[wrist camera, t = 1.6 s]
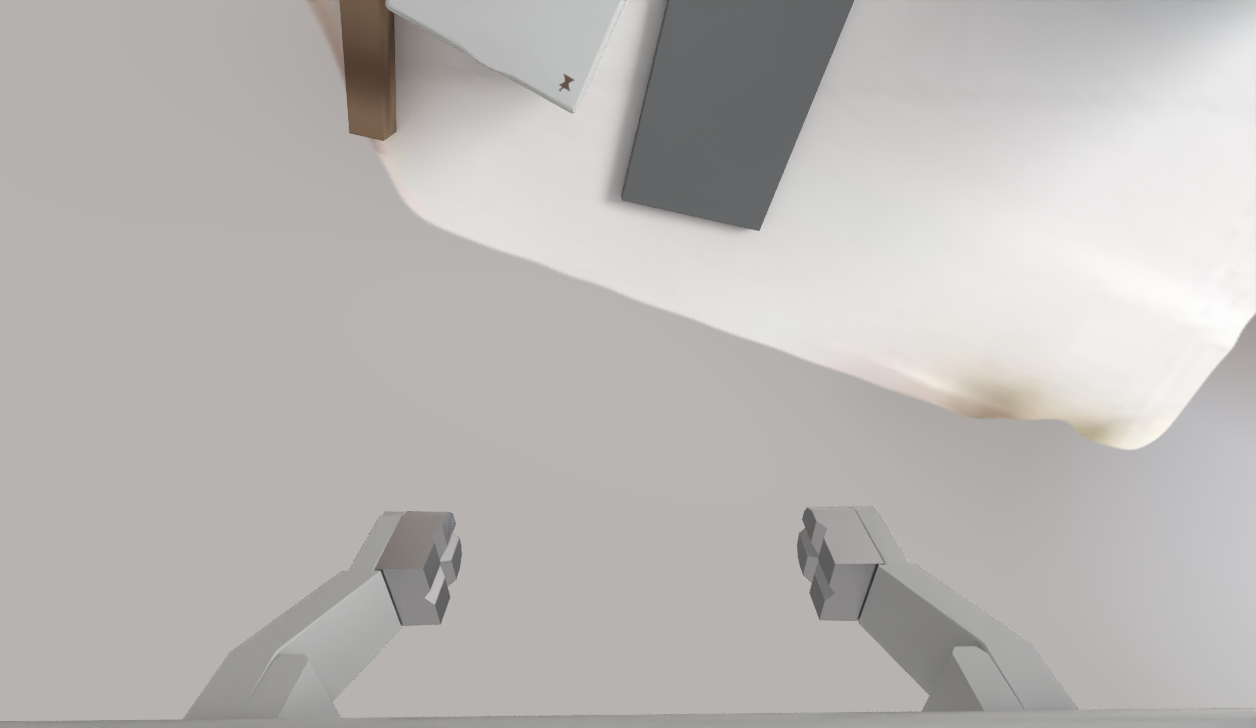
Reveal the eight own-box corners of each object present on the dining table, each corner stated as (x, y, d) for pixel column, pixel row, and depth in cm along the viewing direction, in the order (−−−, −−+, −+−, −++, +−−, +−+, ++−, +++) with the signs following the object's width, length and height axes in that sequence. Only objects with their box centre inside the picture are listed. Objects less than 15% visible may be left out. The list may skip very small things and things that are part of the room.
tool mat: (699, -134, 30) (702, -138, 29) (875, -69, 32) (883, -71, 31) (621, 196, 41) (622, 200, 40) (756, 226, 43) (759, 230, 43)
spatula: (324, -143, 29) (300, -155, 26) (416, -113, 30) (401, -123, 27) (344, 119, 37) (327, 128, 34) (416, 135, 37) (405, 145, 35)
